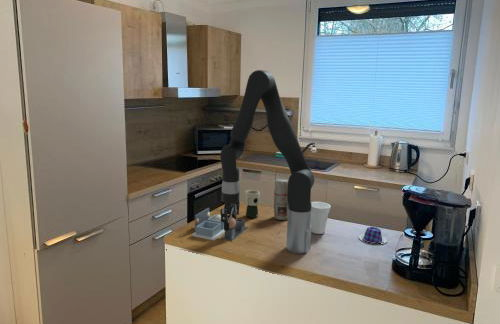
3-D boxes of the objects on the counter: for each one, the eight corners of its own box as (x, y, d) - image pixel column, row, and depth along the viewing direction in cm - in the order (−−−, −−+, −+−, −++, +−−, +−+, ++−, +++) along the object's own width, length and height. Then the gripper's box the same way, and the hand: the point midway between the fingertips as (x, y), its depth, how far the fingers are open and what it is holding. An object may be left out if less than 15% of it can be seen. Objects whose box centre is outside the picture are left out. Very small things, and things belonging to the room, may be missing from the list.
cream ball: (226, 224, 185) (226, 214, 184) (221, 227, 180) (221, 217, 179) (217, 222, 187) (217, 212, 186) (211, 226, 182) (212, 215, 181)
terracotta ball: (237, 227, 172) (238, 216, 171) (232, 231, 168) (232, 220, 167) (227, 225, 174) (227, 214, 173) (222, 229, 170) (222, 218, 169)
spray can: (270, 218, 196) (271, 179, 192) (277, 214, 203) (278, 176, 199) (286, 222, 192) (288, 182, 188) (292, 217, 199) (294, 178, 195)
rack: (234, 225, 186) (234, 216, 185) (214, 240, 168) (214, 231, 167) (214, 221, 190) (214, 213, 190) (192, 235, 172) (192, 226, 172)
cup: (322, 238, 174) (324, 210, 171) (302, 232, 180) (304, 205, 177) (332, 231, 182) (334, 204, 179) (313, 226, 188) (314, 200, 185)
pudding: (392, 240, 174) (393, 229, 173) (377, 248, 166) (379, 236, 165) (368, 232, 182) (369, 222, 181) (353, 239, 175) (354, 228, 173)
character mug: (252, 221, 192) (253, 195, 190) (240, 218, 196) (240, 193, 193) (263, 214, 202) (264, 190, 199) (251, 212, 205) (252, 188, 202)
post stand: (247, 228, 183) (247, 219, 182) (232, 241, 168) (232, 230, 167) (237, 226, 184) (237, 217, 184) (221, 238, 170) (221, 228, 169)
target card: (209, 223, 187) (209, 207, 186) (195, 232, 176) (195, 215, 174) (208, 223, 187) (208, 207, 186) (194, 232, 176) (194, 215, 174)
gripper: (231, 196, 160) (230, 235, 163) (245, 187, 172) (244, 224, 176) (214, 193, 162) (214, 232, 166) (230, 185, 175) (229, 221, 179)
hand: (230, 227), depth 171 cm, fingers open, 6 cm apart
